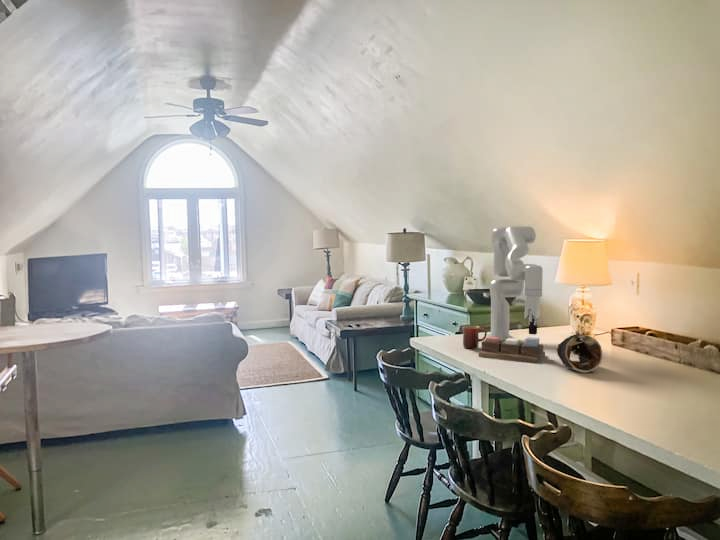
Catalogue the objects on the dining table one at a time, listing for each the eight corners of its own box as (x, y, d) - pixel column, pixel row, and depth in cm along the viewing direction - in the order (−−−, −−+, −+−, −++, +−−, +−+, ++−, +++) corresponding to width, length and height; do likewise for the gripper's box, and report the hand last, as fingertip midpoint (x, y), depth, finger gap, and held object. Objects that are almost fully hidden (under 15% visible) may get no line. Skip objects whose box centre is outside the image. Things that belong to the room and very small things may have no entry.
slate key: (527, 345, 250) (528, 337, 249) (539, 347, 247) (539, 338, 247) (525, 347, 245) (525, 338, 245) (536, 349, 243) (536, 340, 242)
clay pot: (580, 332, 246) (600, 331, 221) (586, 366, 244) (607, 370, 219) (546, 336, 246) (562, 336, 222) (552, 370, 244) (569, 374, 220)
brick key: (489, 344, 259) (489, 336, 259) (499, 345, 256) (499, 337, 256) (485, 346, 255) (485, 338, 254) (496, 347, 252) (496, 339, 252)
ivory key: (508, 346, 254) (508, 338, 254) (519, 347, 252) (519, 339, 251) (505, 348, 250) (505, 340, 250) (516, 349, 247) (516, 341, 247)
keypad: (489, 349, 265) (489, 337, 264) (545, 355, 251) (545, 342, 251) (478, 356, 251) (478, 343, 250) (537, 363, 238) (537, 349, 237)
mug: (462, 349, 266) (462, 328, 265) (460, 345, 274) (461, 325, 274) (487, 350, 265) (487, 328, 264) (485, 346, 273) (485, 325, 273)
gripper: (528, 291, 253) (528, 330, 254) (520, 294, 240) (519, 335, 241) (545, 292, 249) (545, 332, 250) (538, 294, 236) (537, 337, 237)
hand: (532, 333), depth 245 cm, fingers closed
